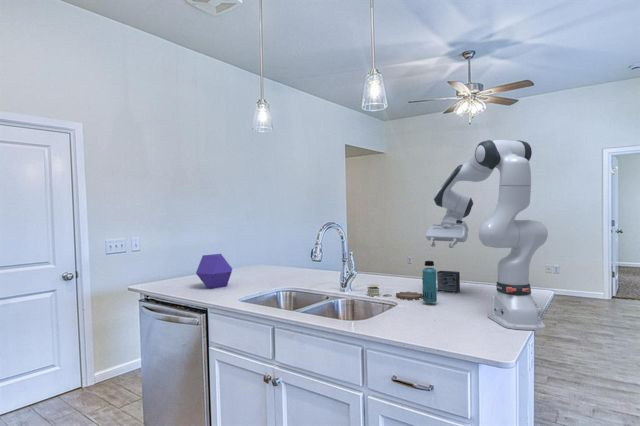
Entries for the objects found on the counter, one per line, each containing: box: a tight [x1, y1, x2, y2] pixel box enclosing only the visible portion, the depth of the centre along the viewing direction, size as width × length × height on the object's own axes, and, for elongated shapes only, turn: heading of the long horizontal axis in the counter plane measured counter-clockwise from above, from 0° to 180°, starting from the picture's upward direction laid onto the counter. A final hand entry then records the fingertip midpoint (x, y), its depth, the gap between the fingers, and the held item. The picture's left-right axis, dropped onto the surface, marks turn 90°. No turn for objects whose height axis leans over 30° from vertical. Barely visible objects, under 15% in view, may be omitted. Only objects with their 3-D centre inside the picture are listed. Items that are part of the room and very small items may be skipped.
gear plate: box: [395, 291, 423, 301], centre depth 192 cm, size 13×13×2 cm
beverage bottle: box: [421, 260, 438, 303], centre depth 178 cm, size 6×7×20 cm
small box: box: [436, 270, 461, 294], centre depth 205 cm, size 11×6×10 cm, turn 58°
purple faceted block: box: [196, 253, 233, 290], centre depth 227 cm, size 22×20×20 cm
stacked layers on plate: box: [366, 283, 380, 298], centre depth 198 cm, size 10×9×6 cm
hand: (441, 246), depth 187 cm, fingers open, 8 cm apart
